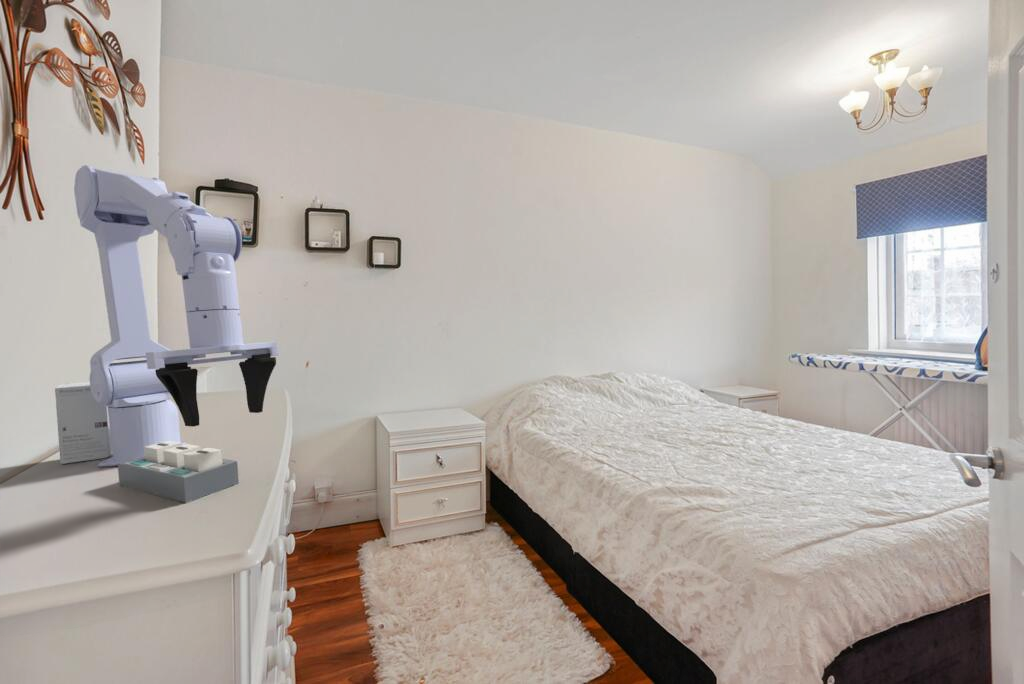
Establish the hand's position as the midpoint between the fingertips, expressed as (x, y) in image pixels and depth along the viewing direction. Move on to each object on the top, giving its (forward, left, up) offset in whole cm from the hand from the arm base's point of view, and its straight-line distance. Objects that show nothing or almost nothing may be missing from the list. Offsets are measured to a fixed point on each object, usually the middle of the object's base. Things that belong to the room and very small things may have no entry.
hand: (225, 418), depth 59 cm
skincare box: (-21, -29, -10) cm, 37 cm away
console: (-4, -8, -9) cm, 13 cm away
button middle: (-4, -7, -7) cm, 10 cm away
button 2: (-1, -4, -6) cm, 8 cm away
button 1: (-6, -11, -7) cm, 14 cm away
